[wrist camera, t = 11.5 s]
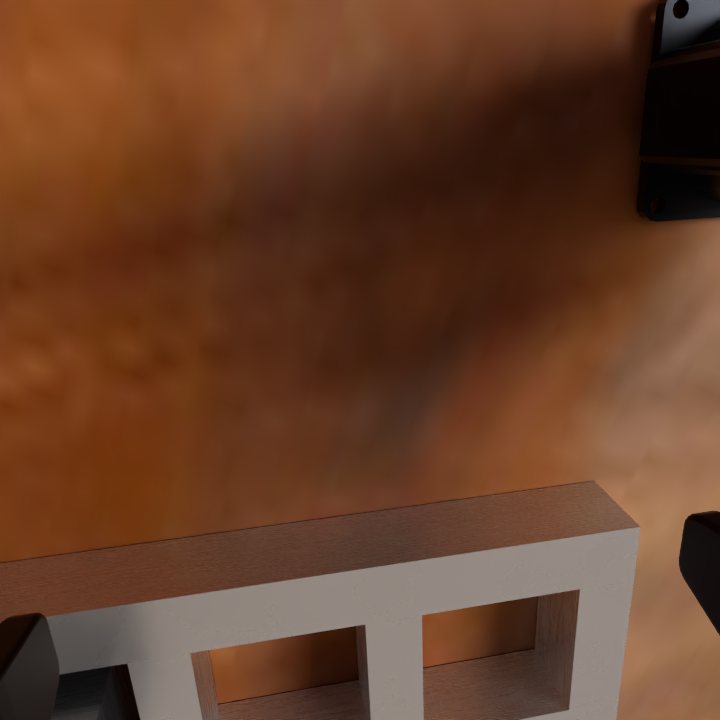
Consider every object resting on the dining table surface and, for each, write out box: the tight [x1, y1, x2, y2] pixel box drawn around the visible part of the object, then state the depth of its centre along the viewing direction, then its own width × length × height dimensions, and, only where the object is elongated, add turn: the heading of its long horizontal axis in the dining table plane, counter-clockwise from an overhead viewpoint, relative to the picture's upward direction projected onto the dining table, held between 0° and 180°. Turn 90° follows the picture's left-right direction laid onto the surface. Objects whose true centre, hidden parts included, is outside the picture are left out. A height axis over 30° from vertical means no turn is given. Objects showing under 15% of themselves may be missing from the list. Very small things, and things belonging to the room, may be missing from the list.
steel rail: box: [0, 481, 641, 720], centre depth 22 cm, size 25×10×3 cm, turn 93°
